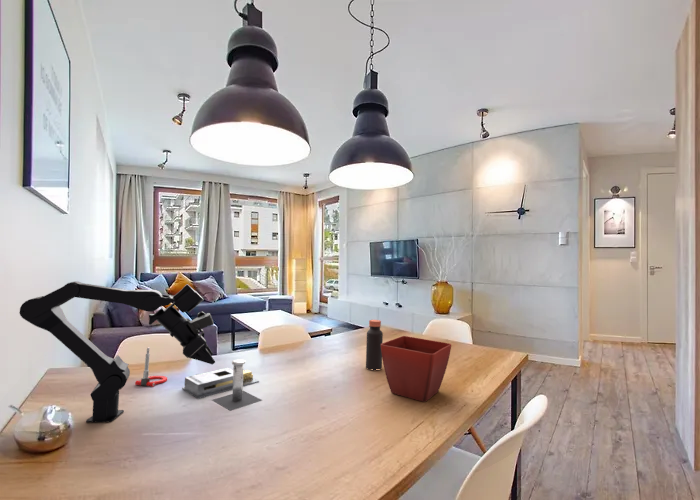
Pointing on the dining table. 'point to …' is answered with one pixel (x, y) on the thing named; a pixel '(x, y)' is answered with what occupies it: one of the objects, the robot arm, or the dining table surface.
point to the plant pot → (415, 366)
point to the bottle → (374, 345)
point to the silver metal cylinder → (237, 380)
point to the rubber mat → (230, 405)
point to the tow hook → (146, 380)
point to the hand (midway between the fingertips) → (212, 359)
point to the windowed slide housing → (214, 382)
